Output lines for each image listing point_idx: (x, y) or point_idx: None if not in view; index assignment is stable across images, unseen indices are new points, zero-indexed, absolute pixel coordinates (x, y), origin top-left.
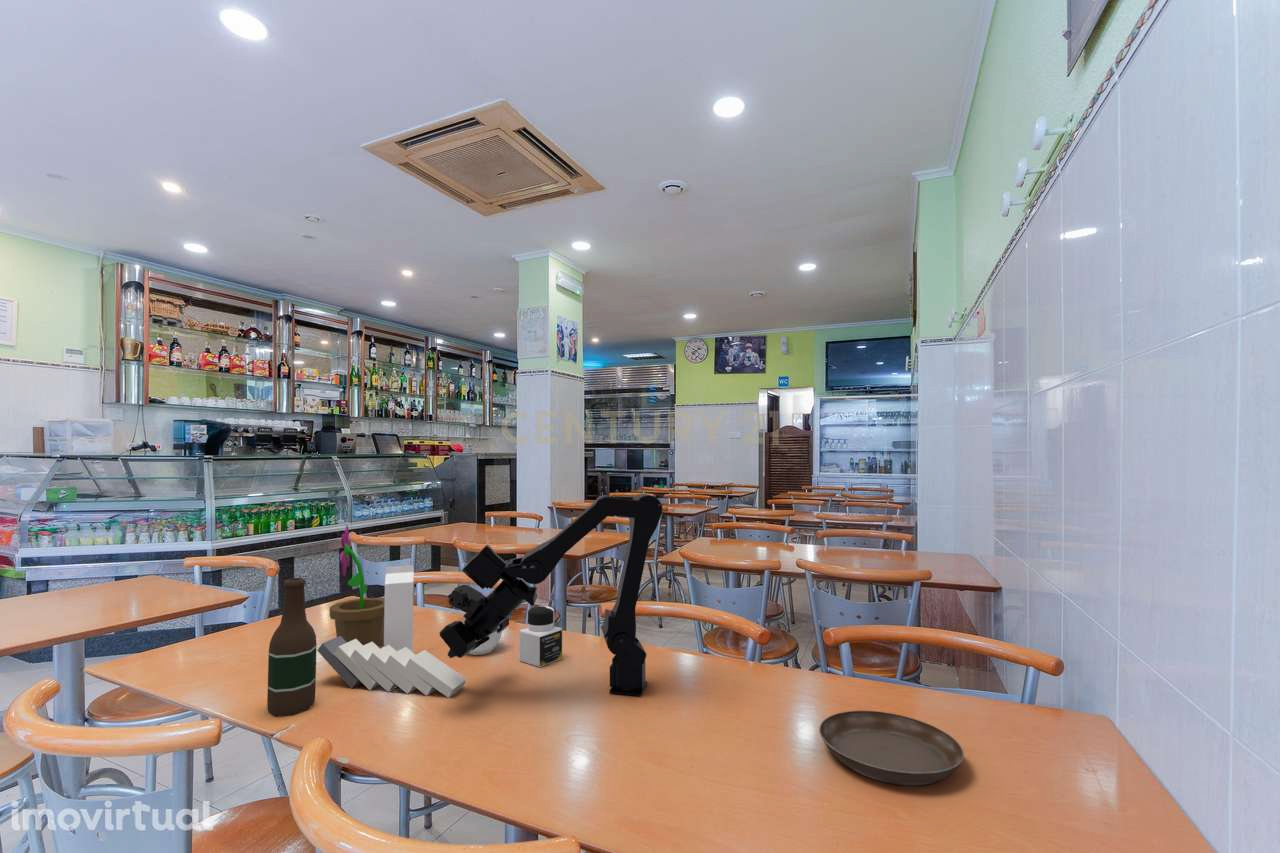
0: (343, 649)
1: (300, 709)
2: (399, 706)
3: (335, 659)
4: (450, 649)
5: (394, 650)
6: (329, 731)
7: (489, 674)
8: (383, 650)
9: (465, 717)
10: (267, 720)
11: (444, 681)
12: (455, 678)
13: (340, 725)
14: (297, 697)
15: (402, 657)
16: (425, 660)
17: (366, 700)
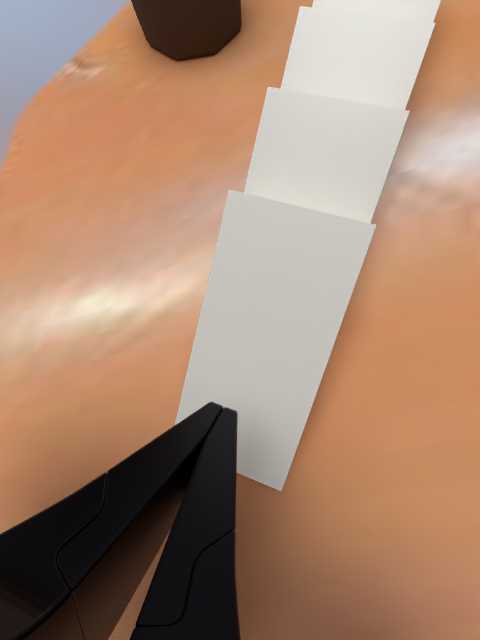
0: None
1: (157, 45)
2: (150, 271)
3: None
4: (172, 430)
5: (406, 80)
6: (36, 156)
7: (453, 582)
8: (360, 36)
9: (3, 523)
10: (135, 15)
11: (190, 400)
12: (248, 442)
13: (63, 165)
14: (138, 1)
15: (299, 149)
16: (275, 269)
17: (214, 165)
